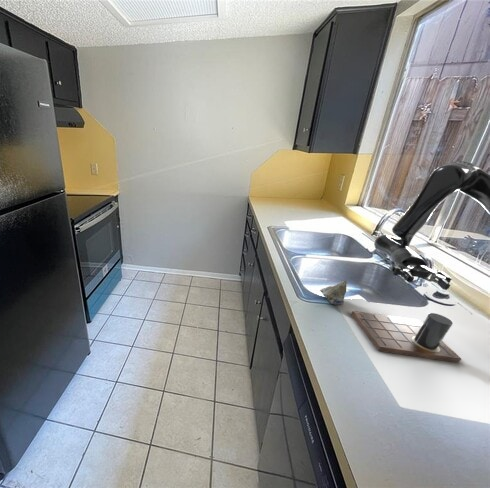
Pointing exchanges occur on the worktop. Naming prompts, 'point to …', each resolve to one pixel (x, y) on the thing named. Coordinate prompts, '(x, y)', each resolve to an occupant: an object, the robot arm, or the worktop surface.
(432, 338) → the black cylinder
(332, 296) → the rock
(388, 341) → the board
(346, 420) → the worktop surface
